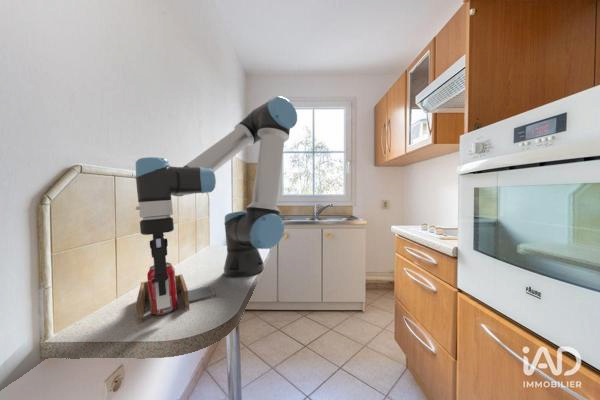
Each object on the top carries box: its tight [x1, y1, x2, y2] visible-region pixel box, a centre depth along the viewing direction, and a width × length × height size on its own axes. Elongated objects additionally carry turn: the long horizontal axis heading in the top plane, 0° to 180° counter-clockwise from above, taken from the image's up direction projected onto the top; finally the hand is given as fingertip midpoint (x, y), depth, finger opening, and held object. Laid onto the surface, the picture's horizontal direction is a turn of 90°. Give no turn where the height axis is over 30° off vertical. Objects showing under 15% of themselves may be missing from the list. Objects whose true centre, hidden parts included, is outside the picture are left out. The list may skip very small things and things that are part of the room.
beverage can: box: [146, 262, 178, 316], centre depth 64 cm, size 6×6×12 cm
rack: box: [136, 273, 190, 324], centre depth 68 cm, size 11×18×5 cm, turn 30°
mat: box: [188, 285, 216, 304], centre depth 73 cm, size 7×9×1 cm
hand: (163, 298), depth 64 cm, fingers open, 13 cm apart
